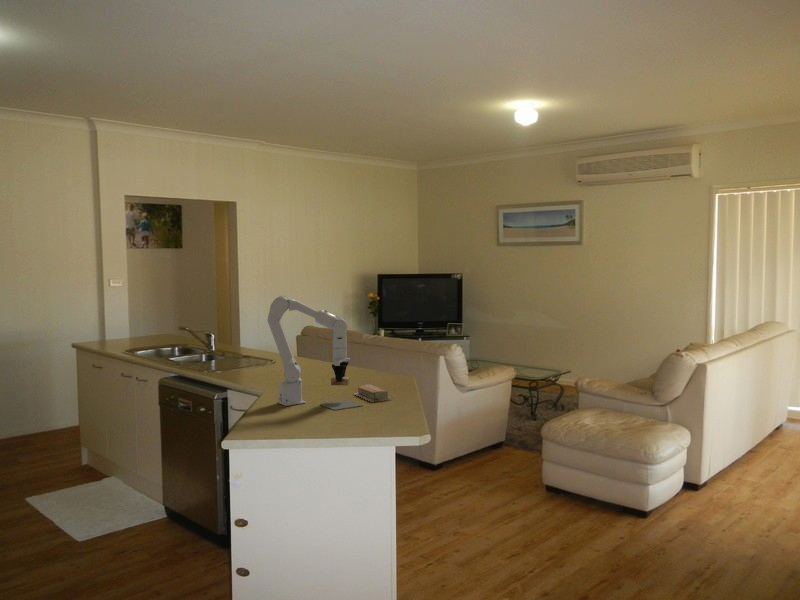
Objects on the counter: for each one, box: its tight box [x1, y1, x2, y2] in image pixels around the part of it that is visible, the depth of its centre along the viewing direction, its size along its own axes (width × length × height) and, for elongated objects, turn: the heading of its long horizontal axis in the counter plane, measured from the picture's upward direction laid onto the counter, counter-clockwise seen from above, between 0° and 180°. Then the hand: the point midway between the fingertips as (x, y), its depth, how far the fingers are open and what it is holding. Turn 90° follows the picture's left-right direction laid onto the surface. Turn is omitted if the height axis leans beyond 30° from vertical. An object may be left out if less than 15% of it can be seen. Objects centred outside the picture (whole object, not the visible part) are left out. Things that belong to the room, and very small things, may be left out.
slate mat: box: [319, 399, 364, 411], centre depth 262 cm, size 13×12×1 cm
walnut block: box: [330, 376, 351, 386], centre depth 268 cm, size 7×4×3 cm, turn 85°
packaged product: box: [353, 383, 392, 403], centre depth 278 cm, size 18×5×10 cm
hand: (340, 380), depth 268 cm, fingers closed on walnut block, 4 cm apart
